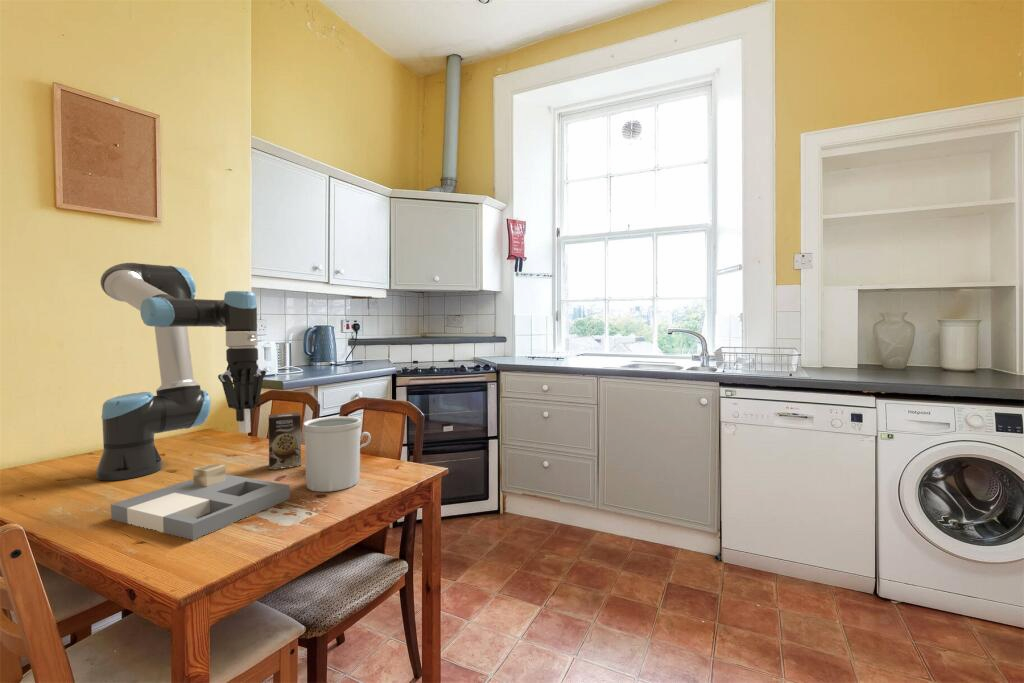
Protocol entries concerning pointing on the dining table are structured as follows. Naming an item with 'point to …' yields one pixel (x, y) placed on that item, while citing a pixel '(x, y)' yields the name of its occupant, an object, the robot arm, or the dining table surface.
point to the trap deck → (199, 505)
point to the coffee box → (284, 440)
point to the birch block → (209, 474)
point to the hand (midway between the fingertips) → (244, 432)
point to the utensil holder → (332, 453)
